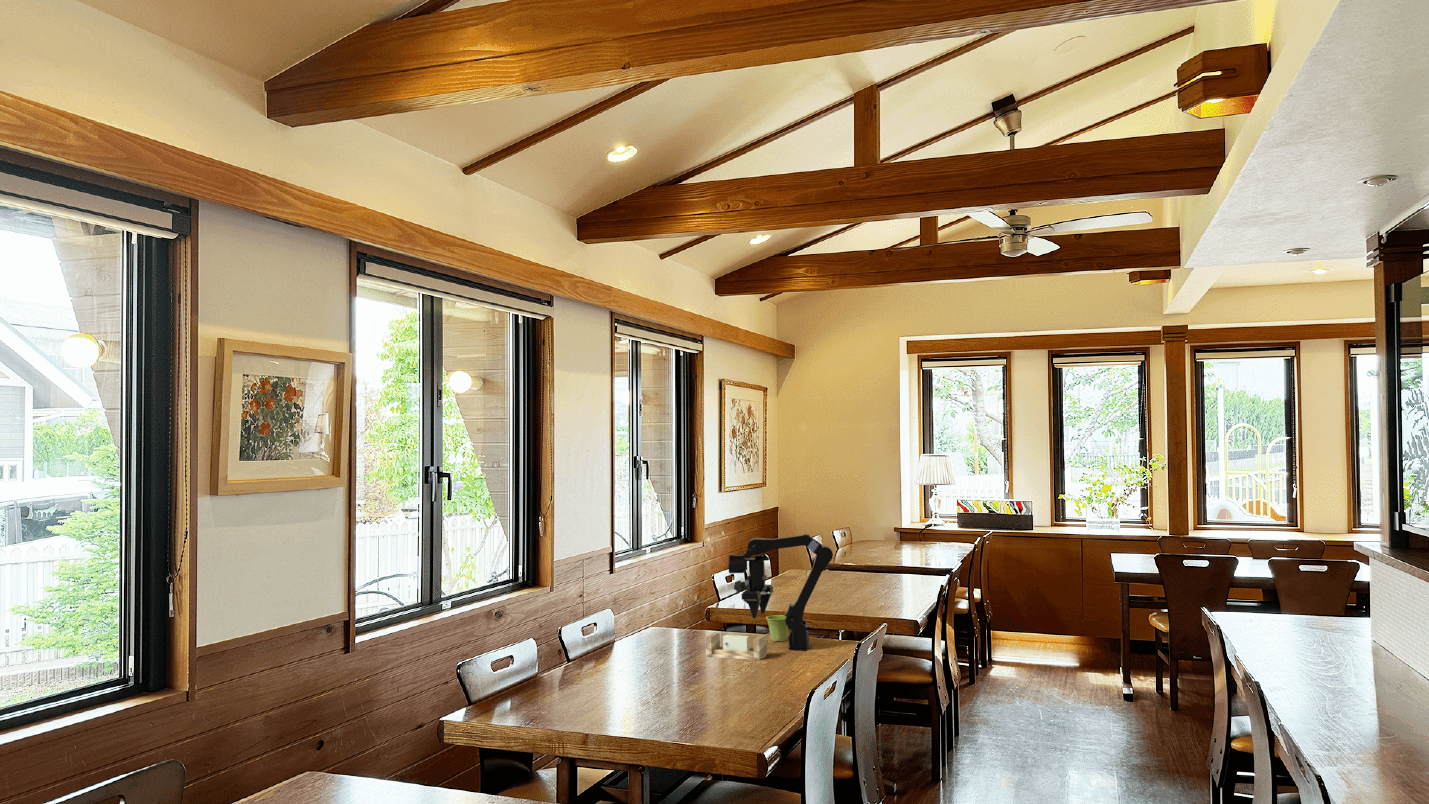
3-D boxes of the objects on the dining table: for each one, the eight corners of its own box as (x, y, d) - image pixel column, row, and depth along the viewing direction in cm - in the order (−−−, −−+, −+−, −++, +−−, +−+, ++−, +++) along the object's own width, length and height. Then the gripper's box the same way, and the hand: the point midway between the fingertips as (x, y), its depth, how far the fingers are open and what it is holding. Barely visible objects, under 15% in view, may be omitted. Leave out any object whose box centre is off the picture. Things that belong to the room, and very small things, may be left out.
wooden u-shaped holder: (767, 655, 319) (766, 635, 319) (759, 660, 311) (758, 639, 312) (715, 651, 326) (714, 632, 327) (706, 656, 319) (705, 636, 319)
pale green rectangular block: (749, 653, 318) (749, 636, 319) (746, 655, 315) (745, 638, 316) (726, 652, 322) (725, 635, 322) (722, 654, 319) (722, 636, 319)
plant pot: (779, 636, 350) (778, 614, 350) (796, 640, 343) (795, 616, 343) (761, 640, 344) (760, 617, 344) (778, 643, 336) (778, 620, 337)
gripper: (745, 569, 342) (746, 610, 341) (727, 576, 325) (728, 619, 324) (772, 569, 338) (774, 611, 337) (756, 576, 321) (758, 620, 320)
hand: (758, 615), depth 330 cm, fingers open, 9 cm apart
